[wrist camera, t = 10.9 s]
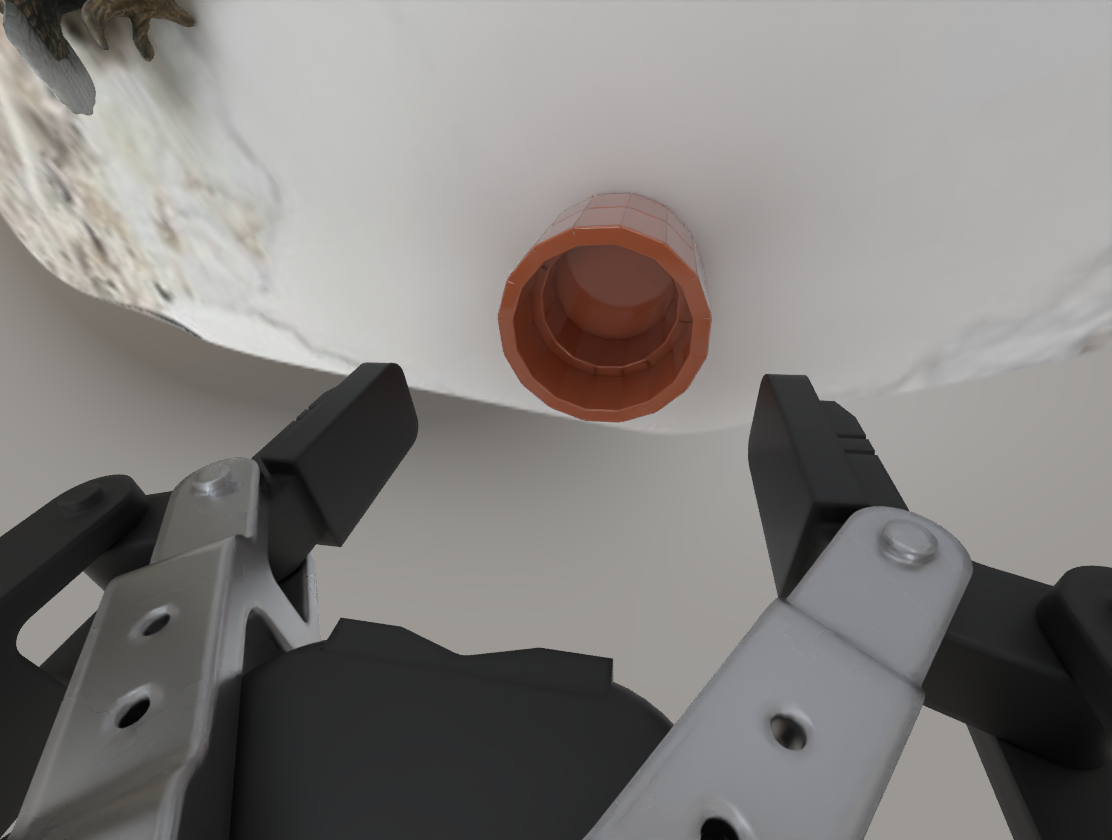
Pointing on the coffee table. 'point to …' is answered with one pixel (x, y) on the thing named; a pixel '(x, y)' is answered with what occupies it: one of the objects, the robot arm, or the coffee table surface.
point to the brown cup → (608, 310)
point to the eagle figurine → (37, 35)
